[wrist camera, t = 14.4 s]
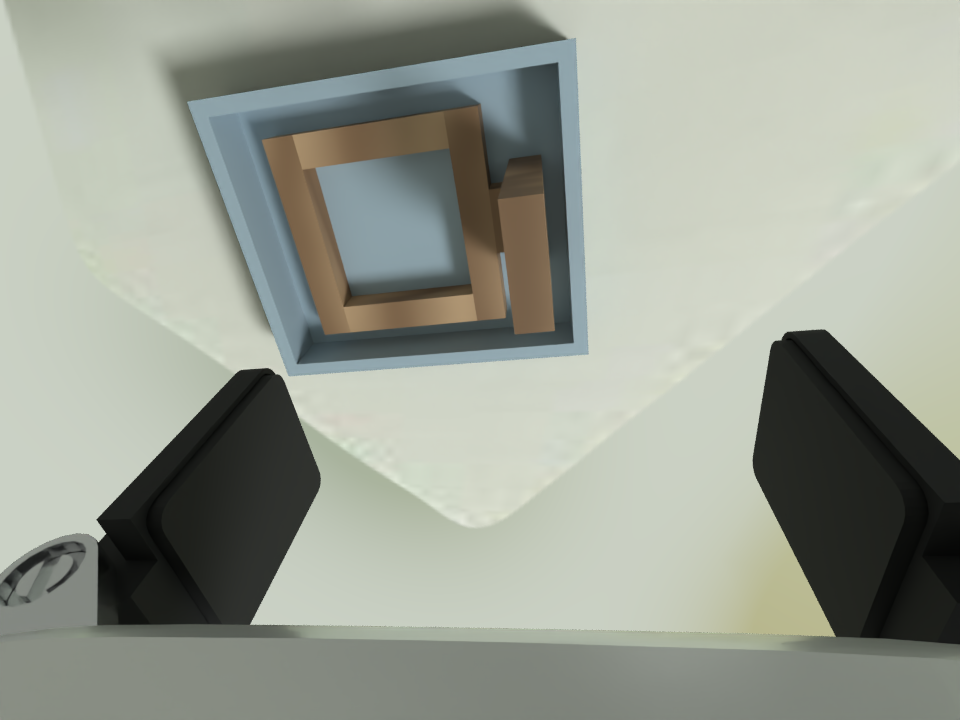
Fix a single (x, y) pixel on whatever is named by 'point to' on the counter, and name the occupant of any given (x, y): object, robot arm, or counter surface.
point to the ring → (483, 211)
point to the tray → (405, 203)
